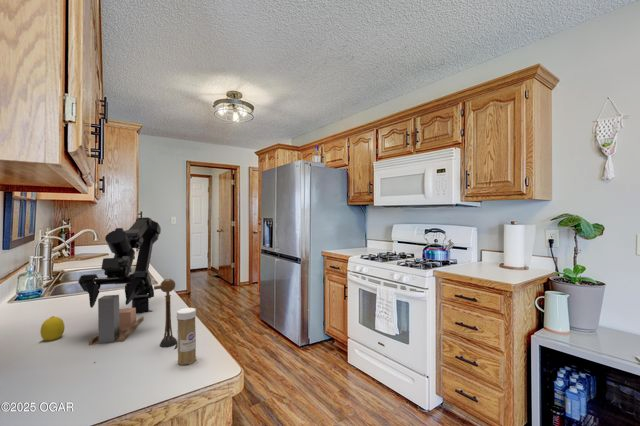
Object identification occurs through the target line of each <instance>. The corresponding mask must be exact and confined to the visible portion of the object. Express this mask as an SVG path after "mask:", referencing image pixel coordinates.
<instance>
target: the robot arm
mask: <svg viewBox="0 0 640 426" xmlns="http://www.w3.org/2000/svg"><path fill="white" fill-rule="evenodd" d="M161 232H162V231H161V226H160V224H159V223H158V222H157V221H155V220H154V219H153V220H152V218H151V217H138V218H137V217H136V219H135V222H134V223H133V224H132V225H131V226H130V228H128V229H126V230H124V228H123V227H116V228H115V229H114V230H112V231H111V232H108V233H107V234H106V235H105V238H104V239H105V242H106V243H107V246H108V248H109V250H110V252H111V254H114V255H113V257H105V258H103V259H102V262H101V270H103V271H104V272H103V273H104V276H106V277H99V276H98V275H97V274H96V273H92V274H90V273H89V274H82V275H80V277H79V278H78V284H79V286H80V287H81V289H82V290H83V291H84V292H86V293H88V297H89V299H88V300H89V307H90V308H91V309H92V308H94V306H95V305H96V301H97V300H98V297H99V294H100V289H101V286H103V285H105V286H106V285H125V286H124V294H125V306H127V305H129V304H131V308H136V314H143V313H152V312H153V310H151V309H149V307H150V306H149V305H150V304H149V301H150V300H149V299H152V298H154V297H155V290H154V285H152V284H153V283H152V278H151V276H150V273H149V268H150V263H151V257H152V252H153V244H154V243H156V242H157V241H158V240H159V235H161ZM135 249H139V250H138V254H137V259H136V256H135V255H136V251H135ZM135 259H136V263H135V269H134V272H133V273H132V271H133V270H132V265H133V262H134V260H135Z"/></svg>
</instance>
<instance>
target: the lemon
mask: <svg viewBox="0 0 640 426" xmlns="http://www.w3.org/2000/svg"><path fill="white" fill-rule="evenodd" d="M64 332H65V322H64V320H63V319H62V318H60V317H57V316H55V315H51V316H50V317H49V318H47V319H45V320H44V321H43V323H42V324H41V326H40V336H41V338H42V340H43V341H46V342H51V341H56V340H59V339H60V338H61V337H62V336H63V334H64Z"/></svg>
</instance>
